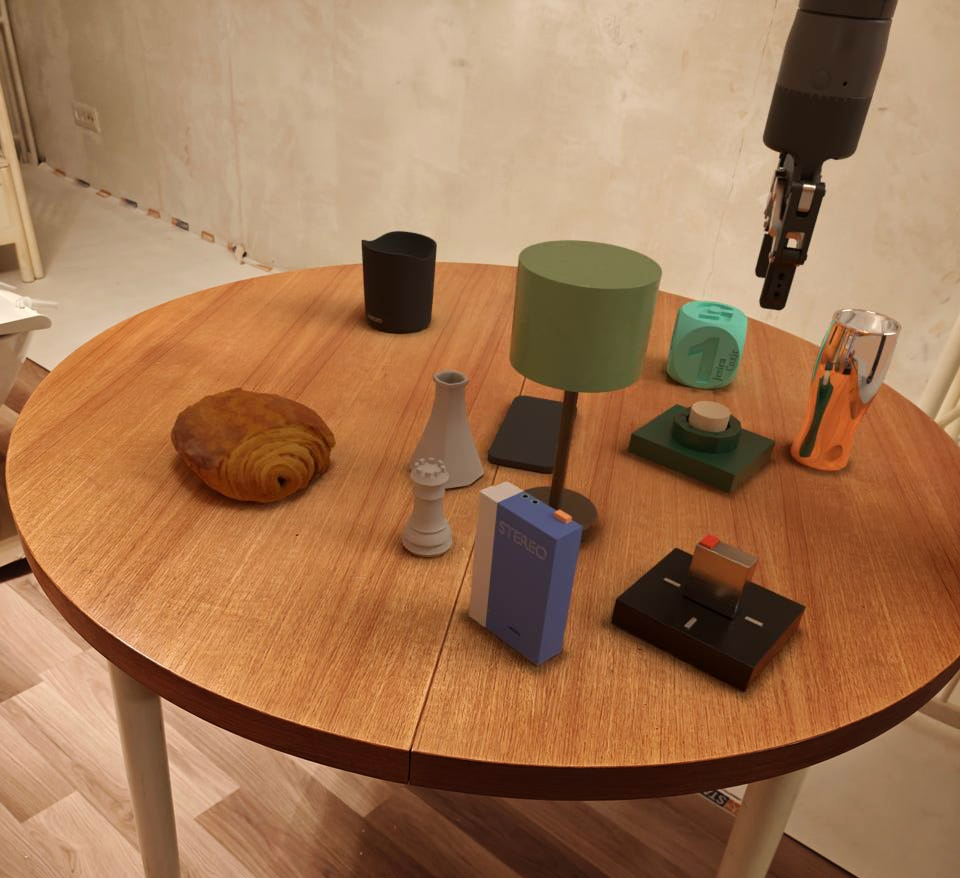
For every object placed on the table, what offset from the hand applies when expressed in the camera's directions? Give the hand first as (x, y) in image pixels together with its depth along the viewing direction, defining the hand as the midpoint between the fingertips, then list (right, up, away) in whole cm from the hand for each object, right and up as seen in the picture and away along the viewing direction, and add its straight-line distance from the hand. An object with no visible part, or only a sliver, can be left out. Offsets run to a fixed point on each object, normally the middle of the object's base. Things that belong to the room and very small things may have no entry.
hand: (768, 291), depth 80 cm
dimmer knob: (-8, -29, -9) cm, 31 cm away
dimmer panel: (-8, -30, -8) cm, 32 cm away
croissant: (-48, -15, +7) cm, 51 cm away
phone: (-20, -10, +15) cm, 27 cm away
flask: (-30, -15, +8) cm, 34 cm away
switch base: (-3, -12, +15) cm, 19 cm away
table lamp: (-19, -21, +3) cm, 28 cm away
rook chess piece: (-31, -23, -2) cm, 39 cm away
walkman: (-23, -31, -10) cm, 40 cm away
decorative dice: (+1, +1, +31) cm, 31 cm away
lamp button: (-2, -9, +12) cm, 15 cm away
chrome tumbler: (+11, -12, +16) cm, 23 cm away
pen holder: (-37, +11, +37) cm, 53 cm away
